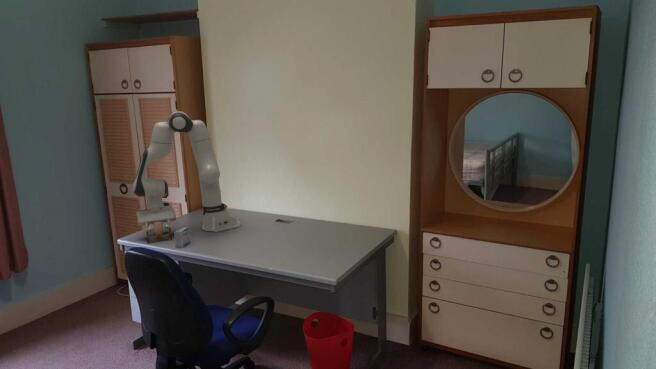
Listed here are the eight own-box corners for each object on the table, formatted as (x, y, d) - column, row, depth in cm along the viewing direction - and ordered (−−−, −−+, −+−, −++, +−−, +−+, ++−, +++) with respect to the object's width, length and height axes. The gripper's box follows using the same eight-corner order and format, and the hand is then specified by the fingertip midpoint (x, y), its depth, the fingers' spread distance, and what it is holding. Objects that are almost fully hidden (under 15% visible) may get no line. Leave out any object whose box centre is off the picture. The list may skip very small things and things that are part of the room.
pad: (165, 227, 278) (165, 227, 278) (167, 232, 269) (166, 231, 269) (153, 229, 276) (153, 229, 276) (154, 234, 267) (154, 233, 267)
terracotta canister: (163, 237, 261) (161, 220, 259) (164, 239, 257) (162, 222, 255) (155, 238, 259) (153, 221, 257) (155, 241, 255) (153, 223, 253)
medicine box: (183, 247, 243) (181, 231, 242) (175, 247, 244) (173, 231, 242) (190, 242, 251) (188, 227, 249) (183, 242, 252) (181, 227, 250)
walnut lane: (170, 232, 270) (170, 227, 269) (172, 239, 257) (172, 234, 256) (146, 235, 265) (146, 230, 264) (147, 243, 252) (146, 238, 251)
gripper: (135, 207, 257) (137, 229, 250) (173, 202, 264) (177, 223, 257) (136, 213, 262) (138, 235, 255) (174, 208, 269) (177, 229, 262)
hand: (158, 229), depth 256 cm, fingers open, 8 cm apart
